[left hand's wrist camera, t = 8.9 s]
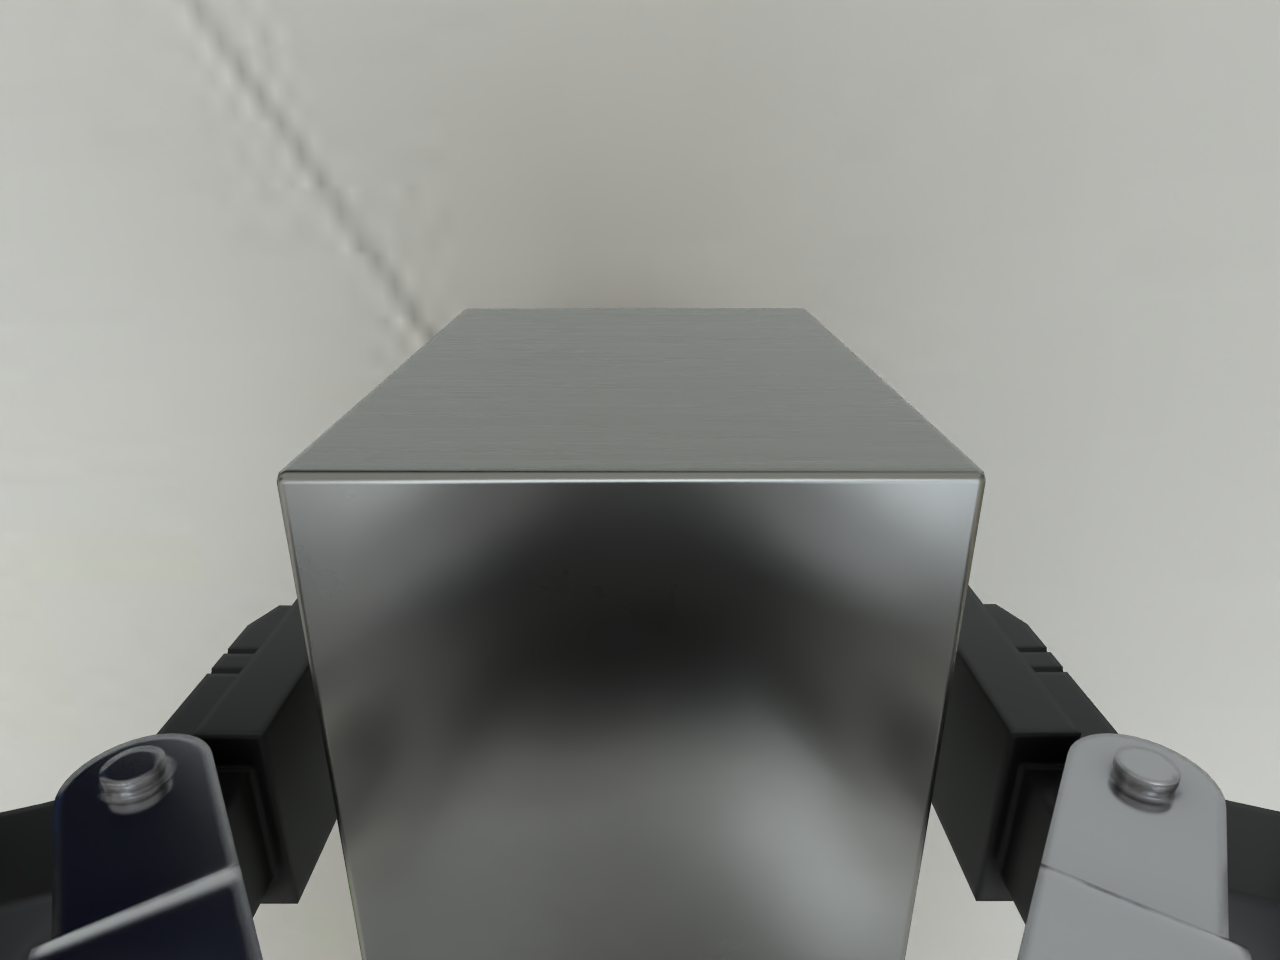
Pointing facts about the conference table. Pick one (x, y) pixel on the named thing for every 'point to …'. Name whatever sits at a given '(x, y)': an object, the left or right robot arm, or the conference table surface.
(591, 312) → the bar
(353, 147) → the conference table surface
